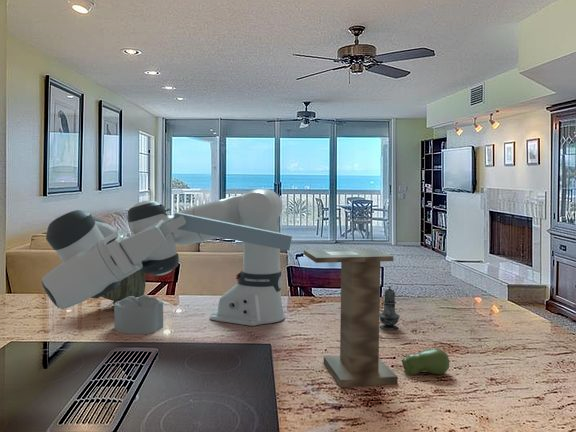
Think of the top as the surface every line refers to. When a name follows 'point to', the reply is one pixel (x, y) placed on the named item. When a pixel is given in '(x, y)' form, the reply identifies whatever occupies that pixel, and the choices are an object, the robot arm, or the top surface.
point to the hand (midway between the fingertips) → (185, 217)
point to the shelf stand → (358, 317)
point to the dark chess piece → (389, 311)
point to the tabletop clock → (128, 287)
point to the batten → (235, 231)
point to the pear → (426, 362)
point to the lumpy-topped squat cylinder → (138, 315)
